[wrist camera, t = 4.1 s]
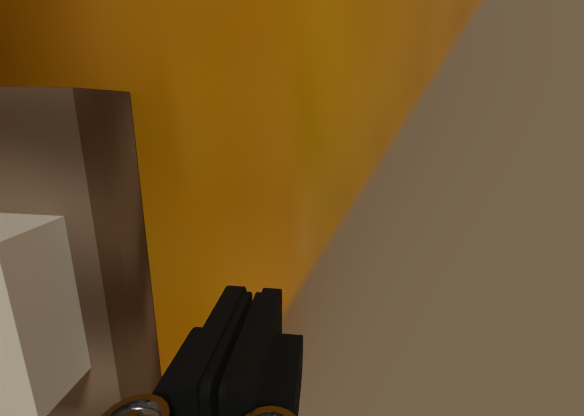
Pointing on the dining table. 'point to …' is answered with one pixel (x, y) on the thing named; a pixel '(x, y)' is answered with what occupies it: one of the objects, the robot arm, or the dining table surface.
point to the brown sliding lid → (88, 226)
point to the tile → (38, 316)
